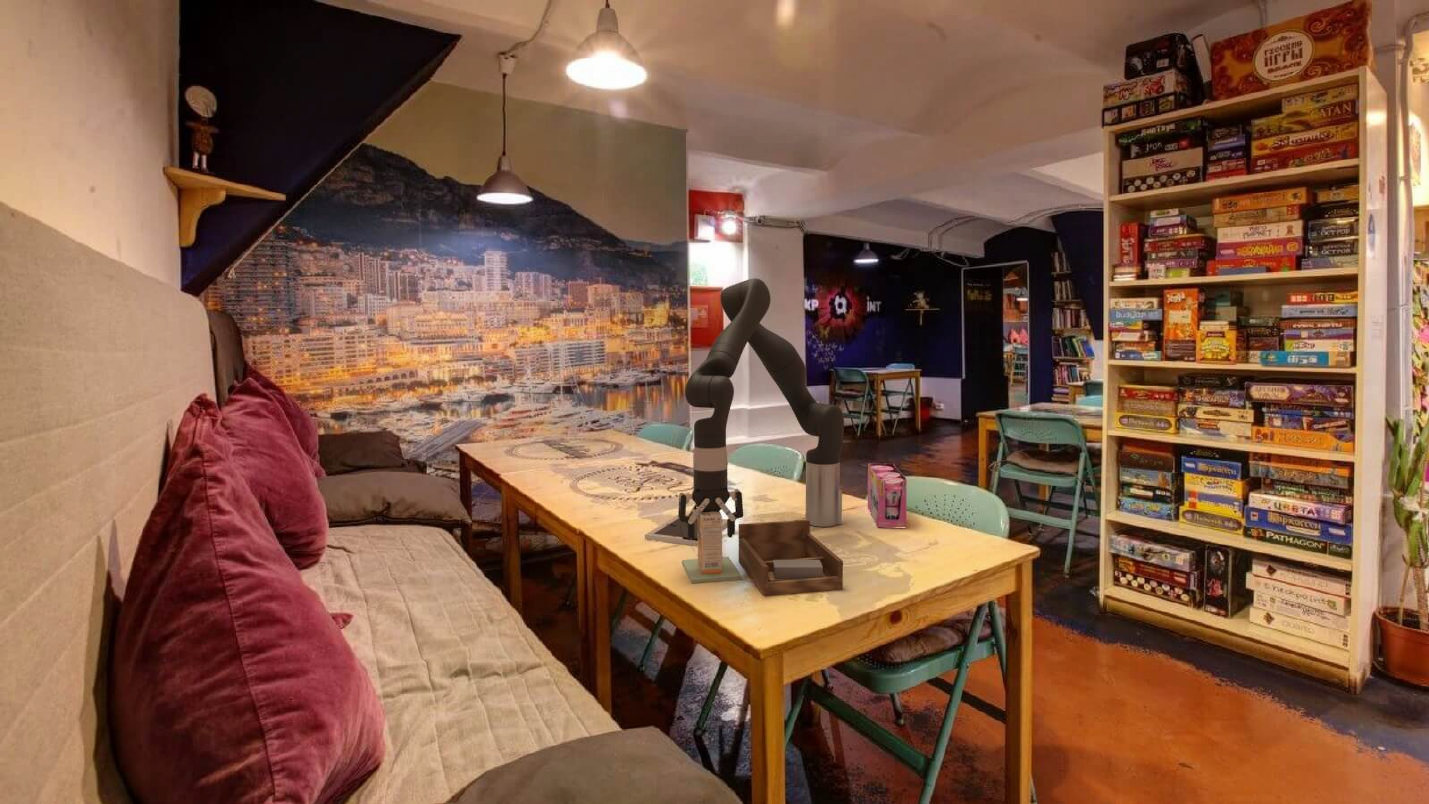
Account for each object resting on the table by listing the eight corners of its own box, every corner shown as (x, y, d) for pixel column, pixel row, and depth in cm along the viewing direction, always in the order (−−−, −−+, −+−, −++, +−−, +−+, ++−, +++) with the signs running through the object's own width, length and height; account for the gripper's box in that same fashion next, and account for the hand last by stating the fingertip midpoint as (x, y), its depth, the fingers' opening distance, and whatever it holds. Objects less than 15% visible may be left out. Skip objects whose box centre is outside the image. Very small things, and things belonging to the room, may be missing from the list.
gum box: (907, 530, 184) (909, 480, 183) (877, 530, 185) (878, 480, 183) (893, 507, 208) (894, 463, 206) (866, 507, 208) (867, 462, 207)
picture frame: (701, 549, 171) (730, 527, 190) (701, 538, 171) (730, 517, 190) (645, 542, 177) (679, 521, 196) (644, 531, 177) (678, 511, 196)
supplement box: (696, 562, 157) (696, 506, 156) (717, 561, 158) (717, 505, 157) (700, 574, 149) (700, 515, 148) (722, 573, 150) (722, 514, 148)
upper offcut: (819, 571, 147) (819, 559, 147) (822, 579, 143) (822, 567, 143) (772, 571, 148) (772, 559, 147) (774, 579, 143) (774, 567, 143)
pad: (728, 559, 161) (728, 556, 161) (741, 579, 149) (741, 575, 148) (681, 563, 159) (681, 560, 159) (691, 583, 146) (691, 579, 146)
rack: (808, 556, 163) (808, 519, 162) (842, 589, 143) (843, 546, 142) (738, 562, 160) (738, 524, 159) (763, 595, 139) (763, 552, 138)
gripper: (737, 461, 156) (738, 531, 158) (675, 464, 153) (676, 535, 155) (746, 468, 149) (746, 540, 151) (681, 471, 146) (682, 545, 148)
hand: (711, 538), depth 153 cm, fingers open, 8 cm apart
